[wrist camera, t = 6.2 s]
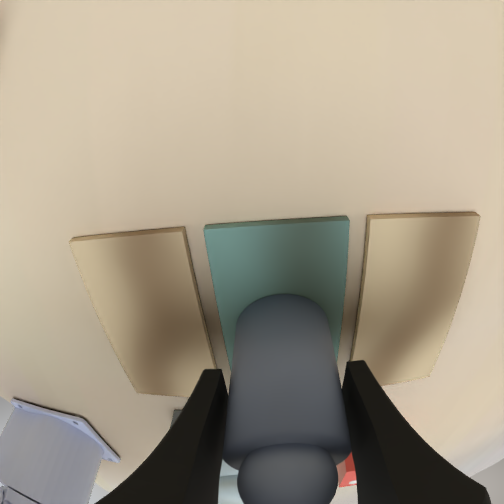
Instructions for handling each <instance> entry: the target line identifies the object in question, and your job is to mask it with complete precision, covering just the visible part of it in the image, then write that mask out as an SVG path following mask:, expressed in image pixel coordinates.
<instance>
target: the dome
mask: <svg viewBox="0 0 504 504" xmlns="http://www.w3.org/2000/svg"><path fill="white" fill-rule="evenodd" d="M238 472H239V471H238V470H236V469H234V468H232V467H230V466H229V465H228V464H227V463H225V461H224V460H222V466H221V471H220V479H219V495H218V504H244V503H243V502H242V500H241V498H240V495H239V493H238V488H237V476H238Z"/></svg>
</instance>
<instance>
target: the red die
mask: <svg viewBox="0 0 504 504" xmlns="http://www.w3.org/2000/svg"><path fill="white" fill-rule="evenodd" d="M336 466H337V471H338V483H339V487H345V486H351V485H357V481H356V472H355V466H354V461H353V457H352V452H351V453H350V455H349V456H348V457H347V458H346V459H345V460H344V461H343V462H341V463H340V464H338V465H336Z"/></svg>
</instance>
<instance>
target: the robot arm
mask: <svg viewBox="0 0 504 504" xmlns="http://www.w3.org/2000/svg"><path fill="white" fill-rule="evenodd" d="M342 394H343V399H344V405H345V411H346V417H347V423H348V429H349V435H350V441H351V448H352V450H351V452H352V457H353V461H354V466H355V472H356V481H357V493H358V504H491V501H490V497H489V494H488V492H487V490H486V488H485V487H484V486H482V485H481V484H479V483H477V482H476V481H474V480H473V479H471V478H469V477H468V476H466V475H465V474H463V473H462V472H461V471H459V470H458V469H457V468H455V467H454V466H453V465H451V464H450V463H449V462H448V461H446V460H445V459H444V458H443V457H442V456H440V455H439V454H438V453H437V452H436V451H435V450H434V449H433V448H432V447H430V446H429V445H428V444H427V443H426V442H425V441H424V440H423V439H422V438H421V437H420V436H419V434H418V433H417V432H416V431H415V430H414V429H413V428H412V427H411V426H410V424H409V423H408V422H407V421H406V420H405V418H404V417H403V416H402V415H401V413H400V412H399V411H398V410H397V408H396V407H395V406H394V404H393V403H392V402H391V400H390V399H389V397H388V396H387V395H386V393H385V392H384V390H383V389H382V387H381V386H380V384H379V383H378V381H377V380H376V378H375V377H374V375H373V373H372V372H371V370H370V369H369V367H368V365H367V363H366V362H365V361H364V360H357V361H349V362H347V365H346V370H345V376H344V381H343V386H342ZM11 403H12V405H13V406H14V407H15V408H14V410H13V412H12V414H11V416H10V418H9V420H8V422H7V424H6V426H5V427H4V429H3V431H2V434H1V436H0V482H1V483H2V484H3V485H4V486H2V487H0V504H88V503H89V499H90V496H91V492H92V489H93V485H94V482H95V479H96V476H97V472H98V469H99V466H100V463H101V460H102V459H104V460H108V461H112V462H117V463H119V462H120V458H119V457H118V456H117V455H116V454H115V453H114V452H113V451H112V450H111V449H110V448H109V446H108V445H107V444H106V443H105V442H104V441H103V440H102V439H101V438H100V437H99V436H98V434H97V433H96V432H95V431H94V430H93V429H92V428H91V426H90V425H89V424H88V423H87V422H86V421H85V420H84V419H82V418H80V417H76V416H72V415H67V414H63V413H60V412H56V411H52V410H48V409H45V408H41V407H38V406H35V405H31V404H28V403H25V402H22V401H19V400H16V399H12V400H11ZM227 406H228V393H227V389H226V385H225V381H224V377H223V373H222V369H204V370H203V371H202V373H201V376H200V378H199V380H198V382H197V384H196V386H195V388H194V390H193V392H192V394H191V395H190V397H189V399H188V401H187V403H186V404H185V406H184V408H183V409H182V411H181V413H180V414H179V416H178V418H177V419H176V421H175V422H174V424H173V425H172V427H171V428H170V429H169V431H168V432H167V434H166V435H165V437H164V438H163V439H162V441H161V442H160V443H159V444H158V446H157V447H156V448H155V449H154V451H153V452H152V453H151V454H150V455H149V457H148V458H147V459H146V460H145V461H144V462H143V463H142V464H141V465H140V466H139V467H138V468H137V469H136V470H135V471H134V472H133V473H132V474H131V475H130V476H129V477H128V478H127V479H126V480H125V481H123V482H122V483H121V484H120V485H119V486H118V487H116V488H115V489H114V490H113V491H112V492H110V493H109V494H108V495H106V496H105V497H104V498H102V499H101V500H99V501H98V502H96V503H95V504H218V495H219V479H220V471H221V466H222V460H223V457H222V454H223V444H224V435H225V425H226V415H227Z"/></svg>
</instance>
